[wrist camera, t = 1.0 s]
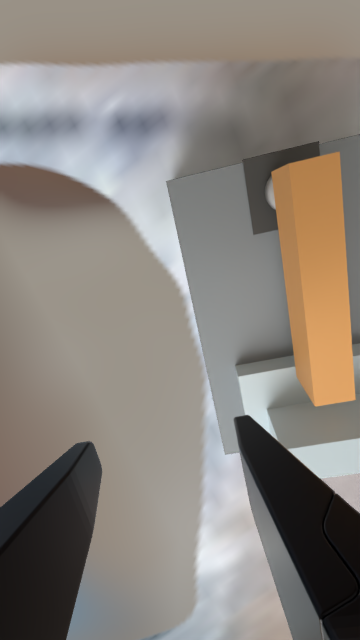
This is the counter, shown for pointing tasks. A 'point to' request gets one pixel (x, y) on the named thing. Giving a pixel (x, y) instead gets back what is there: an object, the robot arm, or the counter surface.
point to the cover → (303, 416)
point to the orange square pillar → (315, 274)
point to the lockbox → (250, 265)
